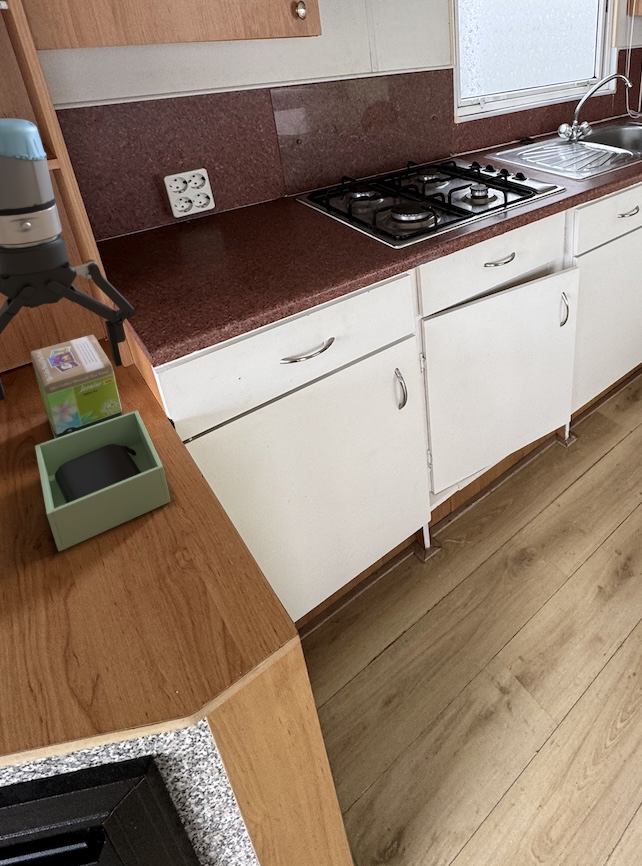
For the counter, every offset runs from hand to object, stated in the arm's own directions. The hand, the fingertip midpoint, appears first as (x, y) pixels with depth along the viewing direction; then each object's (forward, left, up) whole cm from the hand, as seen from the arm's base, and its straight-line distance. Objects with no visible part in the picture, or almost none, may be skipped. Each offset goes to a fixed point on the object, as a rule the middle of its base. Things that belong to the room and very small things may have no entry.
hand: (62, 378), depth 83 cm
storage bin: (+2, +1, -22) cm, 22 cm away
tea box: (-1, +21, -22) cm, 30 cm away
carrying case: (+2, +1, -21) cm, 21 cm away
